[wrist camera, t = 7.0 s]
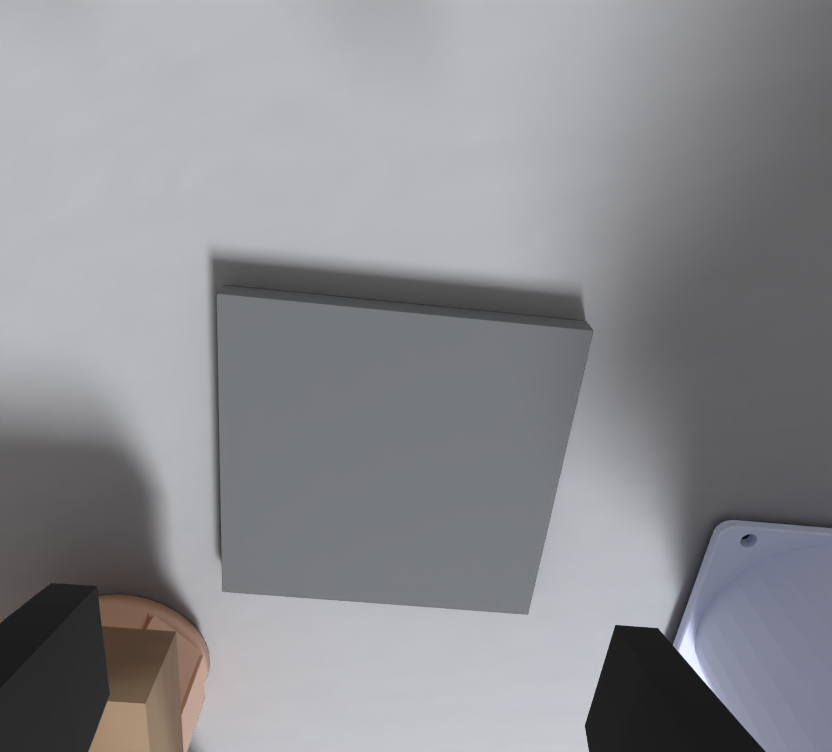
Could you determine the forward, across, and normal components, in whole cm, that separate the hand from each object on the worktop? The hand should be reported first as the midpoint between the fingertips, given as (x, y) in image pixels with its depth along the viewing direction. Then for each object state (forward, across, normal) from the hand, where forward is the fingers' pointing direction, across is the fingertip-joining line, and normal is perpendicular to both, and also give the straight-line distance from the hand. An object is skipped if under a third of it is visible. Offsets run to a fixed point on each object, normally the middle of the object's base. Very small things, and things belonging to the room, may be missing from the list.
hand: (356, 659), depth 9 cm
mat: (+10, 0, +3) cm, 11 cm away
